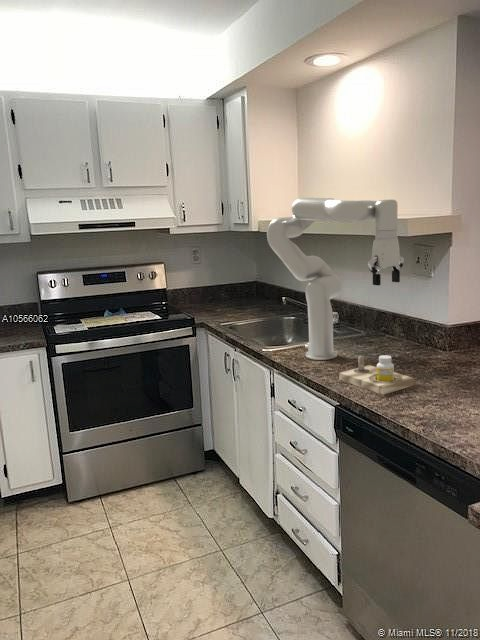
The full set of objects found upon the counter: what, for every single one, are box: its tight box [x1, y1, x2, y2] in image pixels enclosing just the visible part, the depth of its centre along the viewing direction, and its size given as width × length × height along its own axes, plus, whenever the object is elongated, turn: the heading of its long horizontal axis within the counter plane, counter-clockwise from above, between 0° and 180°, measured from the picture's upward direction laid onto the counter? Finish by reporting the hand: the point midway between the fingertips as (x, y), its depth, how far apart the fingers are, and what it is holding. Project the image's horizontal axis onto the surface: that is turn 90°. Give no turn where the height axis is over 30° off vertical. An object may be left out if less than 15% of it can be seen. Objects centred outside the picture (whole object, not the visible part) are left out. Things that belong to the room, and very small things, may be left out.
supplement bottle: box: [376, 354, 395, 382], centre depth 168 cm, size 5×5×10 cm
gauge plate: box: [338, 355, 415, 396], centre depth 172 cm, size 20×14×8 cm
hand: (386, 283), depth 186 cm, fingers open, 9 cm apart
